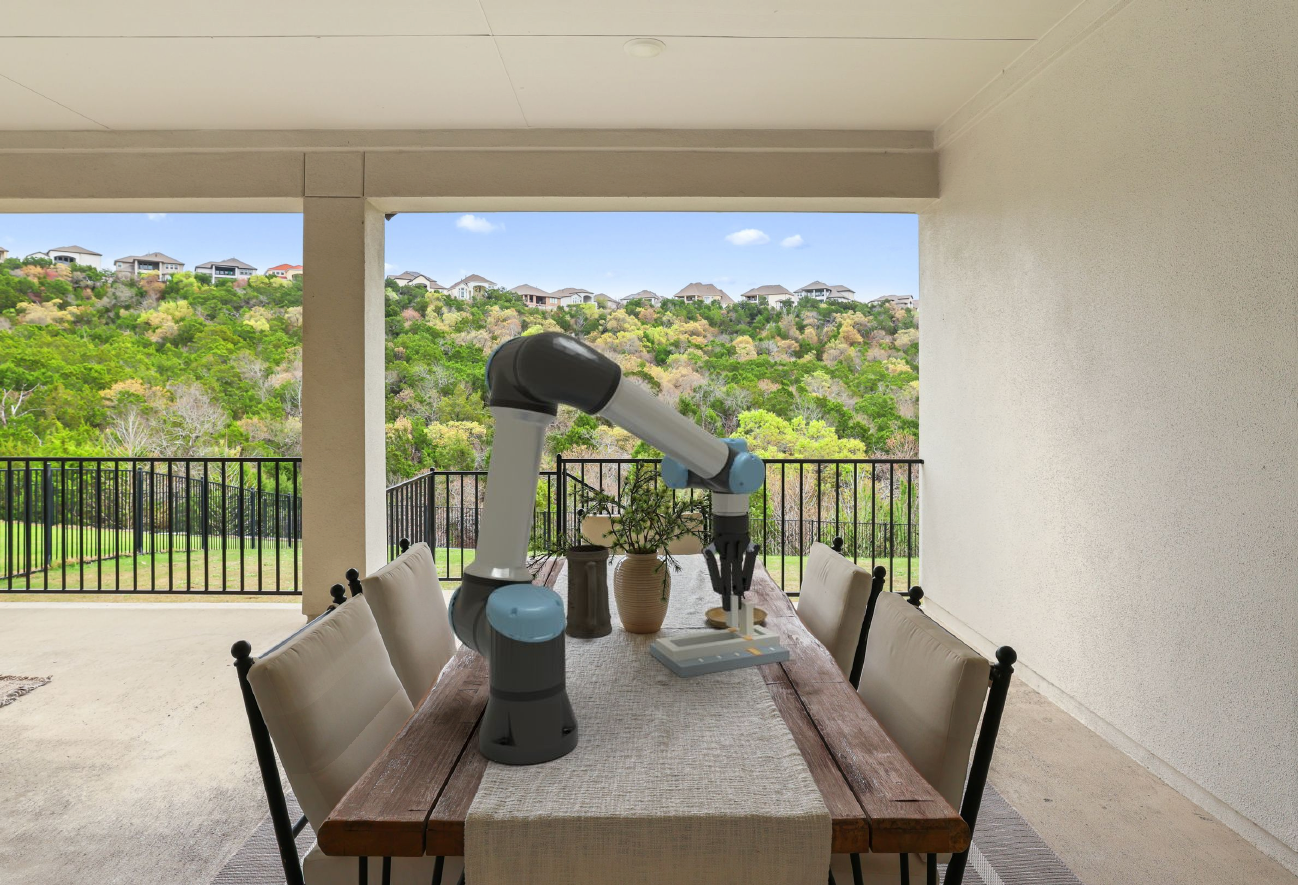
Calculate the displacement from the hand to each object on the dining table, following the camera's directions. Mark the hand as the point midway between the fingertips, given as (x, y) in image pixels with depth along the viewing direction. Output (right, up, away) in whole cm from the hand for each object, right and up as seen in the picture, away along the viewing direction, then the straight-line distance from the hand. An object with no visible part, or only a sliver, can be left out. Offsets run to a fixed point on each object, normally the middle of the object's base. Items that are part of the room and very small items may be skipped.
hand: (732, 625), depth 157 cm
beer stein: (-30, -6, +16) cm, 35 cm away
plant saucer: (+3, -5, +23) cm, 24 cm away
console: (-3, -6, -1) cm, 7 cm away
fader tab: (+3, -4, +1) cm, 5 cm away
